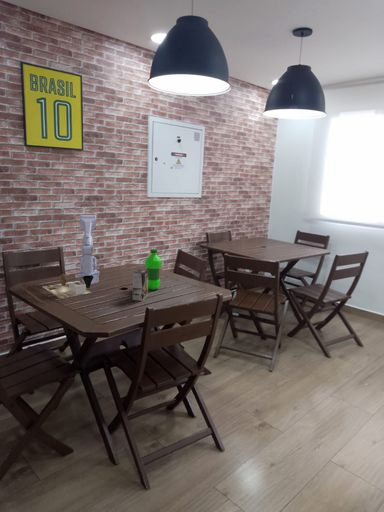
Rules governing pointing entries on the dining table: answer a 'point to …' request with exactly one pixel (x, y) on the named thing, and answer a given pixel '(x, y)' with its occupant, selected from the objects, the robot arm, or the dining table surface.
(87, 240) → the robot arm
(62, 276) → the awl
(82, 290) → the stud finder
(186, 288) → the dining table surface
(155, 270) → the plastic bottle
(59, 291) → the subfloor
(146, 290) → the coffee box
